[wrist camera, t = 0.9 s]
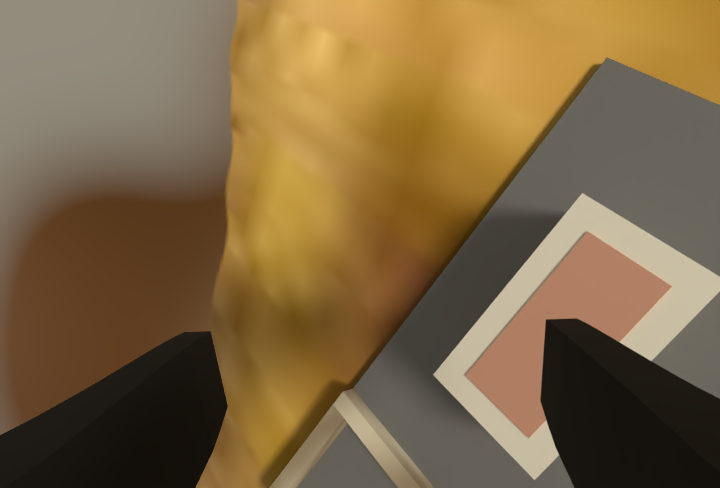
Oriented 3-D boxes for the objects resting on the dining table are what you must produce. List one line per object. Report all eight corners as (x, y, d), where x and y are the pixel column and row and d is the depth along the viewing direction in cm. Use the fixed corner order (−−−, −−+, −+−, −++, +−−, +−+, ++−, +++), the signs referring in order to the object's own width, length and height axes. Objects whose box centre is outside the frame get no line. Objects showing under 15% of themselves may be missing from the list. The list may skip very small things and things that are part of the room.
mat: (981, 222, 14) (992, 220, 14) (377, 763, 22) (372, 772, 22) (607, 62, 20) (606, 57, 20) (248, 529, 29) (242, 532, 29)
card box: (595, 214, 20) (581, 192, 16) (711, 287, 17) (729, 282, 13) (470, 363, 22) (431, 375, 18) (556, 446, 19) (534, 481, 15)
